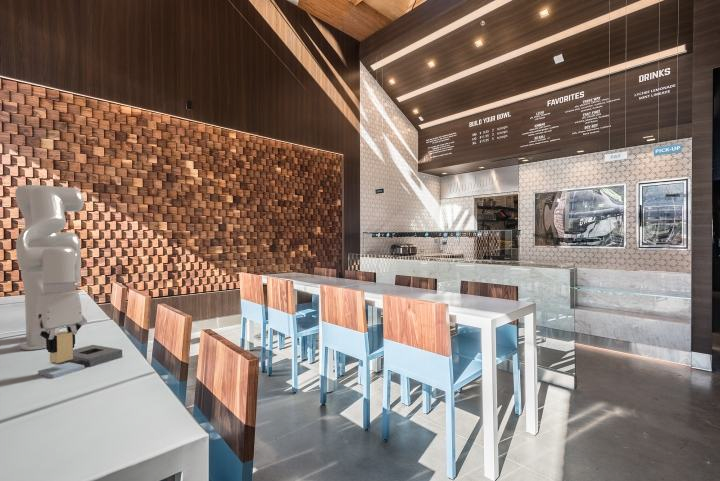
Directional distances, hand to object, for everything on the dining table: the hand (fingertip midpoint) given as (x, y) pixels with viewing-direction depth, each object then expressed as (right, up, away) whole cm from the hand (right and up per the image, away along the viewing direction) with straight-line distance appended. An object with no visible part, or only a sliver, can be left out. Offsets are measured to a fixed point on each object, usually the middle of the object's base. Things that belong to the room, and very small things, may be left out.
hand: (61, 349), depth 110 cm
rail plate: (+1, -6, +11) cm, 13 cm away
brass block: (0, -3, 0) cm, 3 cm away
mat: (0, -7, 0) cm, 7 cm away
